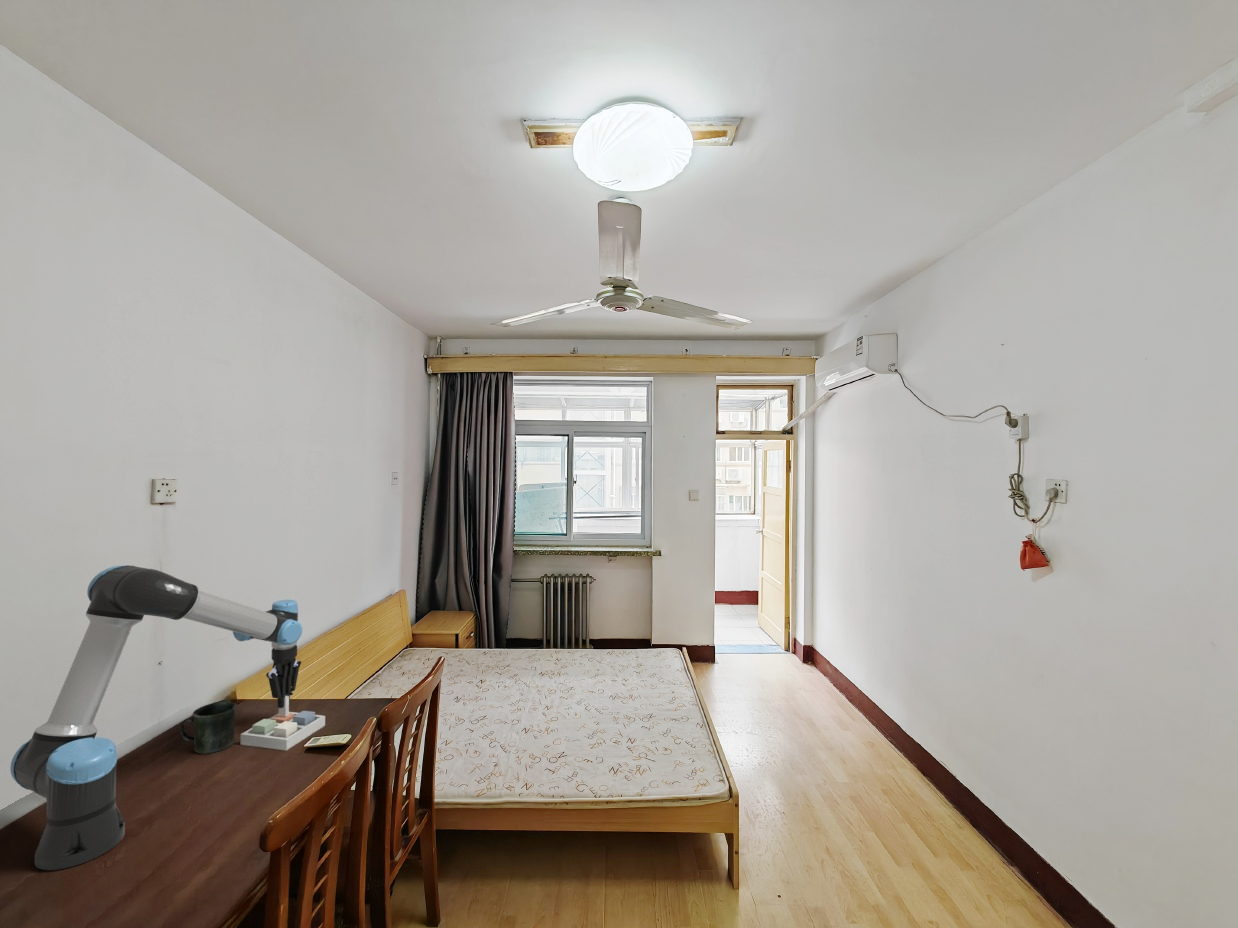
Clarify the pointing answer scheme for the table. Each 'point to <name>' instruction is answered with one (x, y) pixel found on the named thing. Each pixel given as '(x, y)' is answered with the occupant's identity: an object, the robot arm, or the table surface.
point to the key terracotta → (283, 718)
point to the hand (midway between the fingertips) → (283, 715)
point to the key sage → (263, 726)
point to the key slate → (304, 717)
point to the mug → (212, 727)
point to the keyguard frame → (282, 742)
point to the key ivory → (285, 729)
